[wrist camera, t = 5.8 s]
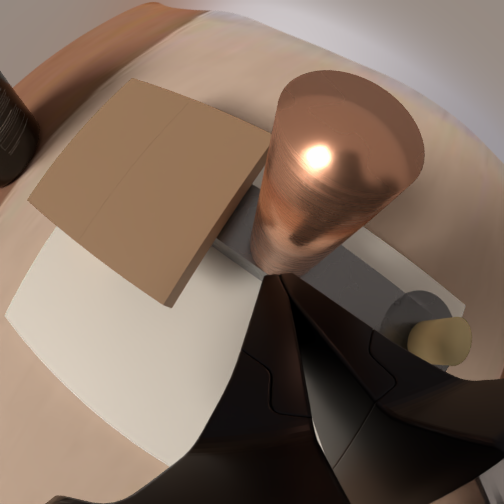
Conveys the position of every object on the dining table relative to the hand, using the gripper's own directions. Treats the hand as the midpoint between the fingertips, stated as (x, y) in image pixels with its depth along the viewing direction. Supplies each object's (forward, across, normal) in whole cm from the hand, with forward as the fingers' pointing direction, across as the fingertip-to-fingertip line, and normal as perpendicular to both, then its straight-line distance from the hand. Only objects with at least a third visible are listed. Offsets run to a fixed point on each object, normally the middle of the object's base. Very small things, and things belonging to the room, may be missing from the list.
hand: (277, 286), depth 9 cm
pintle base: (+4, +1, +5) cm, 7 cm away
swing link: (+4, -3, +3) cm, 6 cm away
